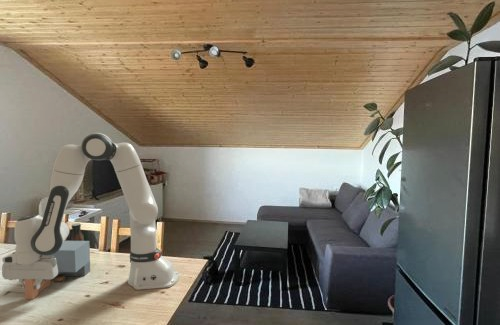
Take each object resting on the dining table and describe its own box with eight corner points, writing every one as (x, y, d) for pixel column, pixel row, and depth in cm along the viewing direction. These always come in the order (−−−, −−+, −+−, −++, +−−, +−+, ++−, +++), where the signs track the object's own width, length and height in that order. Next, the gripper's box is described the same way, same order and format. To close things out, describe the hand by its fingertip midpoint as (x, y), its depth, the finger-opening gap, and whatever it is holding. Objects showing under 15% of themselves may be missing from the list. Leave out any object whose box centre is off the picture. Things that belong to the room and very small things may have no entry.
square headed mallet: (53, 283, 131) (52, 264, 130) (33, 299, 119) (31, 277, 118) (46, 283, 131) (45, 264, 130) (25, 299, 119) (24, 277, 118)
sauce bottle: (82, 257, 159) (81, 221, 158) (87, 260, 155) (86, 223, 154) (69, 261, 154) (67, 224, 153) (73, 264, 150) (72, 226, 149)
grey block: (90, 270, 144) (89, 240, 143) (76, 283, 132) (74, 250, 131) (53, 270, 144) (51, 240, 143) (35, 282, 132) (33, 250, 131)
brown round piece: (67, 278, 137) (67, 274, 137) (61, 283, 132) (61, 278, 132) (57, 278, 137) (57, 274, 137) (51, 283, 132) (51, 278, 132)
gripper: (60, 252, 122) (62, 284, 123) (10, 252, 122) (12, 284, 123) (50, 258, 116) (52, 292, 117) (-3, 258, 115) (0, 292, 117)
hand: (31, 288), depth 120 cm, fingers closed on square headed mallet, 3 cm apart
